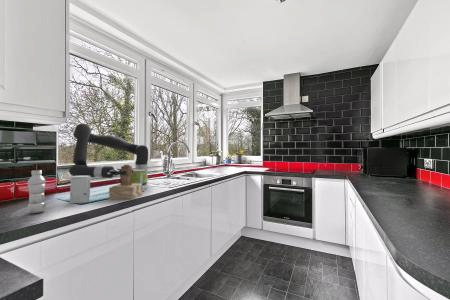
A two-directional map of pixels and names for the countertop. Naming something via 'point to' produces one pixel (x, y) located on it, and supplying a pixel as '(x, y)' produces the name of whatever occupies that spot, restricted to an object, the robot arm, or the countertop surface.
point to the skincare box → (80, 189)
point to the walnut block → (127, 178)
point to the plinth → (125, 191)
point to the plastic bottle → (36, 192)
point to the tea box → (138, 178)
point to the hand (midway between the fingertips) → (129, 172)
